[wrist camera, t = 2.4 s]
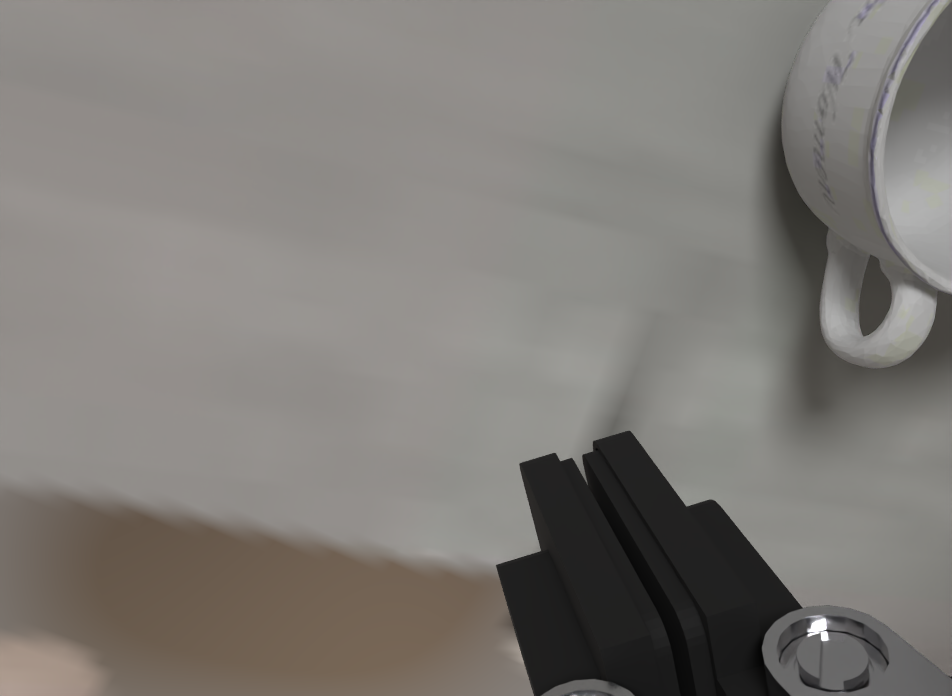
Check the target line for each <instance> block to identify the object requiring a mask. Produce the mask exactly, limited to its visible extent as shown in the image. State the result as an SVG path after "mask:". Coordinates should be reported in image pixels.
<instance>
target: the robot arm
mask: <svg viewBox="0 0 952 696" xmlns="http://www.w3.org/2000/svg"><path fill="white" fill-rule="evenodd" d="M582 458H583V465H584V469H585V474H586V478H587V482H588V485H587V483H586V482H585V480H584V478H583V476H582V474H581V473H580V471H579V469H578V467H577V465H576V464H575V462H574V460H573V459H572V458H570V459H567V460H563V461H560V460H559V458H558V456H557V455H556V453H552V454H549V455H546V456H542V457H539V458H536V459H532V460H529V461H526V462H522V463H520V470H521V474H522V479H523V482H524V486H525V490H526V494H527V498H528V502H529V505H530V509H531V513H532V517H533V521H534V525H535V529H536V532H537V536H538V540H539V544H540V548H541V551H540V552H537V553H534V554H531V555H527V556H524V557H521V558H518V559H514V560H511V561H508V562H504V563H501V564H498V565H496V567H497V571H498V574H499V578H500V581H501V585H502V588H503V592H504V595H505V599H506V602H507V606H508V609H509V613H510V616H511V619H512V623H513V626H514V630H515V633H516V637H517V640H518V643H519V647H520V650H521V654H522V657H523V660H524V664H525V667H526V670H527V674H528V677H529V680H530V684H531V687H532V690H533V693H534V696H952V677H950V676H947V675H946V674H945V673H944V672H943V671H941V670H940V669H939V668H938V667H936V666H935V665H934V664H933V663H932V662H930V661H929V660H928V659H927V658H925V657H924V656H923V655H922V654H921V653H919V652H918V651H917V650H916V649H914V648H913V647H912V646H911V645H910V644H908V643H907V642H906V641H905V640H904V639H902V638H901V637H900V636H899V635H897V634H896V633H895V632H894V631H893V630H891V629H890V628H889V627H888V626H886V625H885V624H883V623H882V622H880V621H878V620H877V619H875V618H874V617H872V616H870V615H868V614H865V613H862V612H859V611H857V610H854V609H851V608H845V607H838V606H830V605H825V606H812V607H805V608H802V607H801V605H800V604H799V603H798V602H797V600H796V599H795V598H794V597H793V596H792V594H791V593H790V592H789V591H788V589H787V588H786V587H785V586H784V584H783V583H782V582H781V581H780V579H779V578H778V577H777V576H776V574H775V573H774V572H773V571H772V570H771V568H770V567H769V566H768V565H767V563H766V562H765V561H764V560H763V558H762V557H761V556H760V555H759V553H758V552H757V551H756V550H755V548H754V547H753V546H752V545H751V544H750V542H749V541H748V540H747V539H746V537H745V536H744V535H743V534H742V532H741V531H740V530H739V529H738V527H737V526H736V525H735V524H734V522H733V521H732V520H731V519H730V517H729V516H728V515H727V514H726V513H725V511H724V510H723V509H722V508H721V506H720V505H719V504H718V503H717V502H716V501H714V500H707V501H704V502H700V503H697V504H694V505H691V506H687V507H686V506H685V504H684V503H683V501H682V500H681V499H680V497H679V496H678V495H677V493H676V492H675V491H674V489H673V488H672V487H671V485H670V484H669V482H668V481H667V480H666V478H665V477H664V476H663V474H662V473H661V472H660V470H659V469H658V467H657V466H656V465H655V463H654V462H653V461H652V459H651V458H650V457H649V455H648V454H647V453H646V451H645V450H644V448H643V447H642V446H641V444H640V443H639V442H638V440H637V439H636V438H635V436H634V435H633V434H632V433H631V431H626V432H622V433H619V434H616V435H612V436H609V437H606V438H602V439H599V440H596V441H593V452H590V453H587V454H583V456H582Z"/></svg>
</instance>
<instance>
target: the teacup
mask: <svg viewBox="0 0 952 696" xmlns="http://www.w3.org/2000/svg"><path fill="white" fill-rule="evenodd" d="M781 129H782V144H783V149H784V154H785V159H786V164H787V167H788V170H789V173H790V175H791V178H792V180H793V183H794V185H795V187H796V189H797V191H798V193H799V195H800V196H801V198H802V199H803V201H804V202H805V203H806V205H807V206H808V207H809V208H810V209H811V211H812V212H813V213H814V214H815V215H816V216H817V217H818V218H819V219H820V220H821V221H822V222H823V223H824V224H825V225H827V226H828V228H829V230H828V233H827V237H826V245H827V250H828V254H829V255H828V259H827V264H826V269H825V274H824V280H823V285H822V291H821V298H820V326H821V332H822V335H823V337H824V340H825V342H826V344H827V345H828V347H829V348H830V349H831V350H832V351H833V352H834V353H835V354H836V355H837V356H838V357H839V358H841V359H843V360H845V361H847V362H849V363H852V364H855V365H858V366H862V367H867V368H874V369H876V368H886V367H890V366H894V365H897V364H899V363H901V362H903V361H904V360H906V359H908V358H909V357H911V356H912V354H913V353H914V352H915V351H916V350H917V349H918V348H919V347H920V346H921V345H922V344H923V342H924V341H925V339H926V338H927V336H928V334H929V332H930V330H931V327H932V325H933V322H934V319H935V312H936V305H937V295H938V290H939V291H941V292H944V293H947V294H949V295H952V0H830V2H829V3H828V4H827V5H826V6H825V8H824V9H823V10H822V12H821V13H820V14H819V16H818V17H817V19H816V20H815V22H814V23H813V25H812V26H811V28H810V30H809V31H808V33H807V34H806V36H805V38H804V40H803V42H802V44H801V46H800V48H799V50H798V52H797V54H796V57H795V59H794V62H793V65H792V68H791V71H790V74H789V77H788V80H787V84H786V89H785V94H784V100H783V106H782V120H781ZM871 255H873V256H875V257H876V258H878V259H879V262H880V269H881V270H882V272H883V273H884V274H885V276H886V277H887V278H888V280H889V282H890V285H891V292H892V301H891V306H890V309H889V311H888V313H887V315H886V317H885V319H884V320H883V322H882V323H881V324H880V325H879V327H878V328H877V329H876V330H875V331H874V332H872V333H871V334H869V335H867V336H863V335H862V332H861V328H860V323H859V304H860V295H861V289H862V284H863V279H864V274H865V270H866V267H867V263H868V260H869V258H870V256H871Z"/></svg>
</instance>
